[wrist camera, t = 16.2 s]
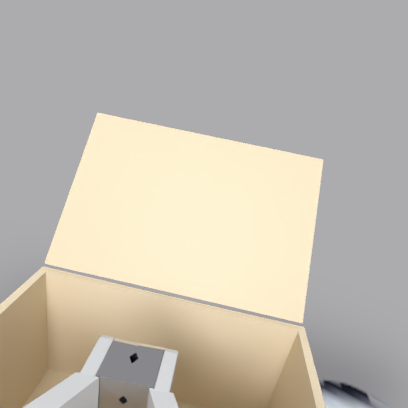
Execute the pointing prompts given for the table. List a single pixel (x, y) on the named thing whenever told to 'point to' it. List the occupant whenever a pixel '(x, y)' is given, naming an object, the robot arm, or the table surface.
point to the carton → (151, 343)
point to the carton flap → (192, 216)
